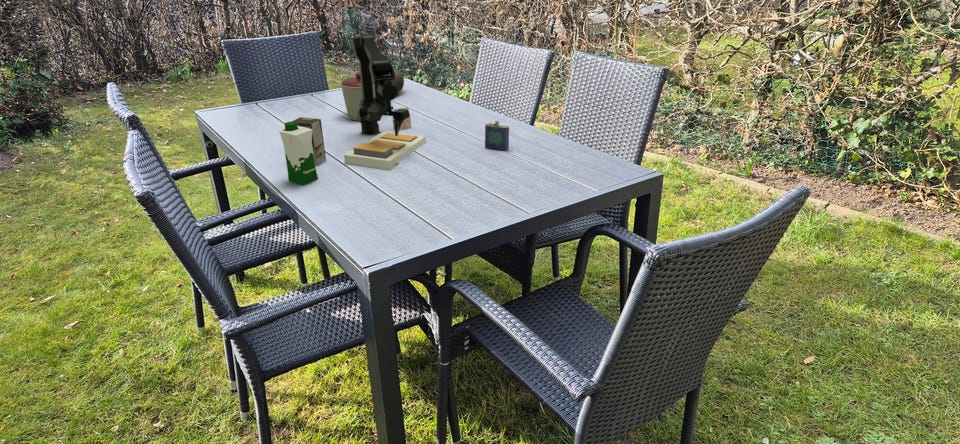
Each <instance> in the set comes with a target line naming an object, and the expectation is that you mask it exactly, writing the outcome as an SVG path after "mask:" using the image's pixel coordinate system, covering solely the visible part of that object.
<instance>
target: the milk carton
mask: <svg viewBox="0 0 960 444" xmlns="http://www.w3.org/2000/svg"><path fill="white" fill-rule="evenodd" d="M312 131H313V129H309V128H306V127H301V126H297V122H292V121H286V122H284V129H281V130H279V135H280V138H281V141H282V144H283V150H284V156H285V162H286V168H287V175H288V176H287V177H288V178H287V179H288V182H291V183H295V184H297V185H300V186H304V185H306V184H309V183H312V182H314V181H317V180H318V179H319V177H318V173H317V169H316V167H317V166H315V162H314V155H313V147H312Z"/></svg>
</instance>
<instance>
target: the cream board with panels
mask: <svg viewBox="0 0 960 444" xmlns="http://www.w3.org/2000/svg"><path fill="white" fill-rule="evenodd" d="M387 133H394V134H395V132H392V131H382V132H380V133H378V134H376V136H374V137H372V138H369V139H368V140H367V141H365V142H364V143H366V144H369V143H371V142H373V141H374V140H381V141H389V142H397V143H405V146H404V147H403V148H401V149H400V150H394V149H392V151H393V154H392V155H390V156H389V157H387V158H386V159H384V158H377V157H370V156H362V155H355V154H354V149H351V150H350V151H348V152H346V153H345V154H343V158H344V164H346V165H353V166H360V167H367V168H372V169H373V168H375V169H381V170H389V171H391V170H393V169H394V168H395V167H396V166H398V165H400V162H399V161H401V160H403V159H404V158H405V157H407V156H409V155H410V154H411V153H412V152H414V151H416V150H417V149H418V148H420V147H421V146H423V145H424V144H426V143H427V138H426V136H424V135H416V134H408V133H400V132H399V133H398V134H402V135H410V136H417V138H416V139H415V140H413V141H412V142H406V141H398V140H390V139H383V138H381V137H382V136H383V135H385V134H387Z"/></svg>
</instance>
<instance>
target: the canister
mask: <svg viewBox="0 0 960 444" xmlns="http://www.w3.org/2000/svg"><path fill="white" fill-rule="evenodd" d="M354 74H355V76H351V77H347V78H345V79H343V80H342V81H340V82H339V86H340V87H341V92H342V94H343V99H344V104H345V109H346V112H347V115H348V117H349V118H350V120H353V121H357V122H359V121H358V117H357V115H358V110H359V109H360V108H359V103H360V101H361V99H362V88H361V79H360V72H358V71H357V72H356V73H354ZM372 86H373V96H374V98H375V90H374V81H373V79H372Z"/></svg>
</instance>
